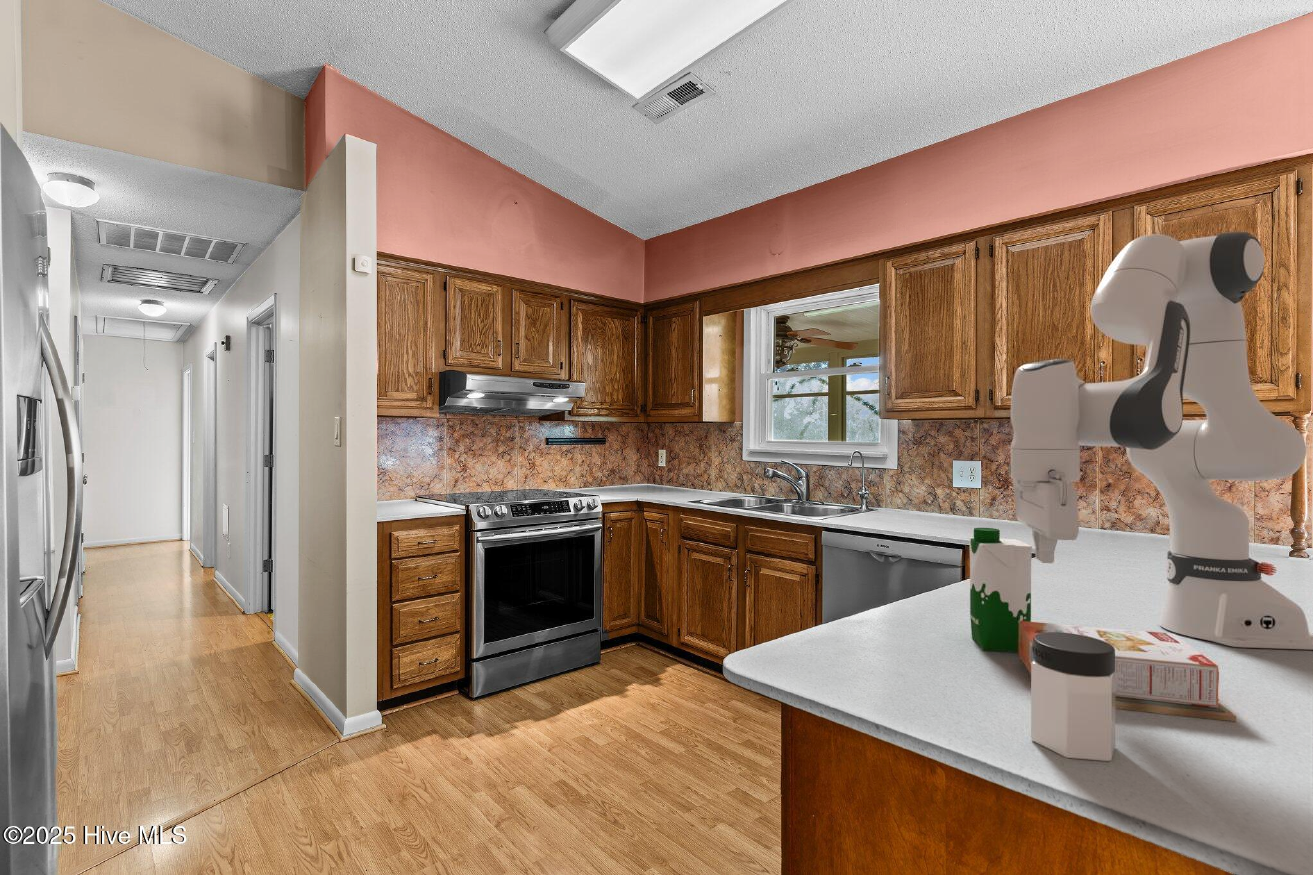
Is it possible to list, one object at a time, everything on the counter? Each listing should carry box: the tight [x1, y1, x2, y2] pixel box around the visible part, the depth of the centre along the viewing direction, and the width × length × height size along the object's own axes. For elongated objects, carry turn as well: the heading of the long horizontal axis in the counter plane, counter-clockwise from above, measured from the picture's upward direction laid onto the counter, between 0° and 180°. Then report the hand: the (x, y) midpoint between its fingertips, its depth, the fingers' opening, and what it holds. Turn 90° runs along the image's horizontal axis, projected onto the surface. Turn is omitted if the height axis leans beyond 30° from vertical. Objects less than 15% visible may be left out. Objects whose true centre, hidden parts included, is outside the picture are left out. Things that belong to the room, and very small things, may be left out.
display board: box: [1115, 696, 1237, 722], centre depth 93 cm, size 20×18×1 cm
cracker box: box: [1018, 621, 1220, 708], centre depth 93 cm, size 14×6×21 cm
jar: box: [1030, 632, 1116, 762], centre depth 76 cm, size 9×8×12 cm
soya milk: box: [968, 527, 1033, 654], centre depth 112 cm, size 9×9×20 cm
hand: (1044, 561), depth 96 cm, fingers closed
